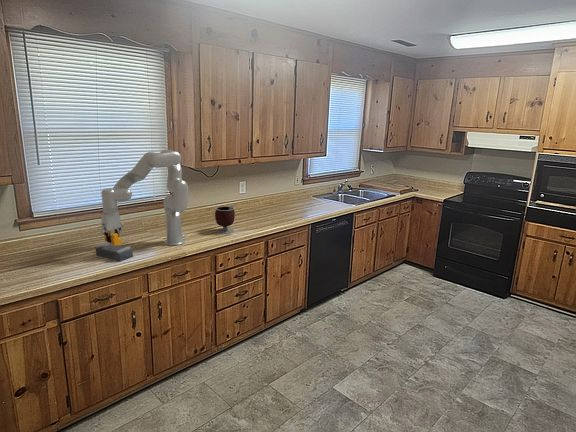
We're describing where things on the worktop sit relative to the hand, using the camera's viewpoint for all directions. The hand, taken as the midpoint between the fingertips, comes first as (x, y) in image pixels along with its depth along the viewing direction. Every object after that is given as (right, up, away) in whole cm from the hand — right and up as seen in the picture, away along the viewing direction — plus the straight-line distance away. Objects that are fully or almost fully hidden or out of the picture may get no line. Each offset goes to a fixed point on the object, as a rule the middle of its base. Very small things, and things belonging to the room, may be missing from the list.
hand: (113, 240), depth 226 cm
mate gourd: (+57, +3, +55) cm, 79 cm away
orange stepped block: (0, -1, +1) cm, 2 cm away
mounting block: (0, -9, +3) cm, 10 cm away
